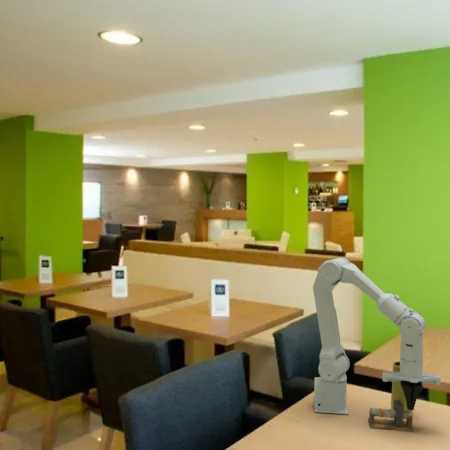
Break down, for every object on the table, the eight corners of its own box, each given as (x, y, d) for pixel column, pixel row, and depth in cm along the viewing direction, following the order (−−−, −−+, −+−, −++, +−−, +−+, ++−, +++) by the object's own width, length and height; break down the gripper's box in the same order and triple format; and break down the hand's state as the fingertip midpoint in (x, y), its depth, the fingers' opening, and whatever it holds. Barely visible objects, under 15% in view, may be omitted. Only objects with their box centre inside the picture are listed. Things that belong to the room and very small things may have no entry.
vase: (409, 409, 145) (410, 361, 144) (415, 418, 139) (416, 368, 138) (388, 408, 146) (389, 360, 145) (393, 417, 140) (394, 367, 139)
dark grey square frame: (396, 425, 132) (397, 406, 132) (393, 418, 136) (393, 399, 136) (402, 425, 131) (403, 406, 131) (399, 418, 136) (400, 400, 136)
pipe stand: (370, 428, 132) (370, 411, 132) (368, 420, 137) (368, 404, 137) (413, 431, 131) (414, 414, 131) (409, 423, 136) (409, 407, 136)
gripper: (385, 361, 130) (384, 412, 130) (444, 365, 128) (442, 416, 128) (381, 353, 137) (380, 402, 137) (436, 356, 134) (435, 405, 135)
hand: (410, 408), depth 133 cm, fingers closed
